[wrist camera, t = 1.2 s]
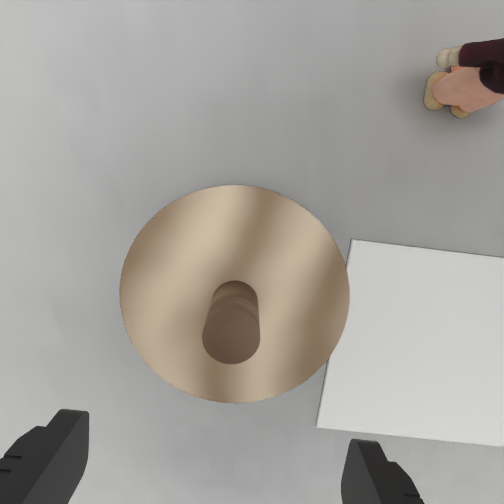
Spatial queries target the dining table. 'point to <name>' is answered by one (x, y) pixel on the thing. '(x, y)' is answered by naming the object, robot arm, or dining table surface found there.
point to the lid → (234, 294)
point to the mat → (419, 346)
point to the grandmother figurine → (467, 78)
